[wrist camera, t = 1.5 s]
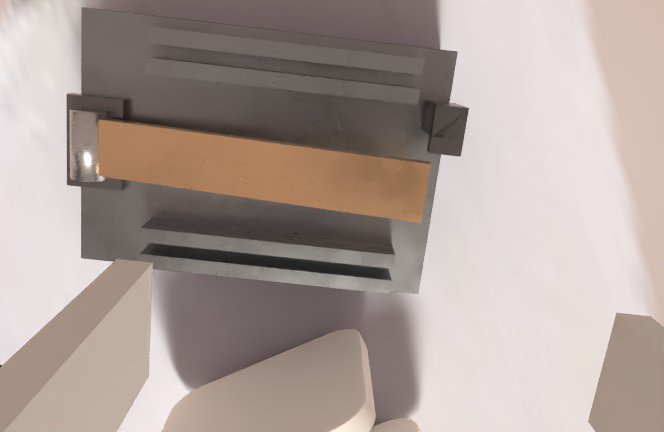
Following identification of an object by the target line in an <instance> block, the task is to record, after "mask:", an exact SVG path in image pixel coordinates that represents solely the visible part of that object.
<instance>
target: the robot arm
mask: <svg viewBox="0 0 664 432" xmlns="http://www.w3.org/2000/svg"><path fill="white" fill-rule="evenodd" d="M152 271H153V263H150V262H141V261H131V260H122V259H117V260H116V261H114V262H113V263H112V264H111V265H110V266H109V267H108V268H107V269H106V270H105V271H104V272H103V273H102V274H100V275H99V276H98V277H97V278H96V279H95V280H94V281H93V282H92V283H91V284H90V285H89V286H88V287H86V288H85V289H84V290H83V291H82V292H81V293H80V294H79V295H78V296H77V297H76V298H75V299H74V300H72V301H71V302H70V303H69V304H68V305H67V306H66V307H65V308H64V309H63V310H62V311H61V312H60V313H58V314H57V315H56V316H55V317H54V318H53V319H52V320H51V321H50V322H49V323H48V324H47V325H46V326H44V327H43V328H42V329H41V330H40V331H39V332H38V333H37V334H36V335H35V336H34V337H33V338H32V339H30V340H29V341H28V342H27V343H26V344H25V345H24V346H23V347H22V348H21V349H20V350H19V351H17V352H16V353H15V354H14V355H13V356H12V357H11V358H10V359H9V360H8V361H7V362H6V363H5V364H3V365H0V432H116V431H117V430H118V428H119V426H120V425H121V423H122V421H123V419H124V418H125V416H126V414H127V413H128V411H129V409H130V407H131V406H132V404H133V402H134V400H135V399H136V397H137V395H138V394H139V392H140V390H141V388H142V387H143V385H144V383H145V381H146V380H147V378H148V376H149V350H150V324H151V297H152ZM588 422H589V423H590V424H591V426H592V427H593V429H594V430H595V432H664V327H663V326H661V325H660V324H659V323H658V322H656V321H655V320H654V319H653V318H652V317H650V316H640V315H631V314H622V313H616V317H615V321H614V325H613V328H612V332H611V336H610V340H609V344H608V348H607V351H606V355H605V359H604V363H603V367H602V370H601V374H600V378H599V382H598V386H597V389H596V393H595V397H594V401H593V405H592V409H591V412H590V416H589V420H588Z"/></svg>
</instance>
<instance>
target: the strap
mask: <svg viewBox="0 0 664 432" xmlns="http://www.w3.org/2000/svg"><path fill="white" fill-rule="evenodd" d="M430 167H431V162H429V161H422V160H414V159H407V158H399V157H392V156H384V155H377V154H370V153H362V152H355V151H347V150H340V149H332V148H325V147H317V146H310V145H302V144H295V143H288V142H280V141H273V140H265V139H258V138H250V137H243V136H235V135H228V134H220V133H213V132H206V131H198V130H191V129H183V128H176V127H168V126H161V125H153V124H146V123H138V122H131V121H124V120H116V119H109V118H107V112H105V111H97V110H89V109H70V179H72V180H76V181H82V182H98V181H103V180H106V177H109V178H116V179H122V180H129V181H136V182H143V183H150V184H157V185H163V186H170V187H177V188H184V189H191V190H198V191H205V192H211V193H218V194H225V195H232V196H239V197H246V198H252V199H259V200H266V201H273V202H280V203H287V204H294V205H300V206H307V207H314V208H321V209H328V210H335V211H341V212H348V213H355V214H362V215H369V216H376V217H383V218H389V219H396V220H403V221H410V222H417V223H422V217H423V211H424V205H425V198H426V192H427V186H428V179H429V173H430Z"/></svg>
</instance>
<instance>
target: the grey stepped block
mask: <svg viewBox="0 0 664 432" xmlns="http://www.w3.org/2000/svg"><path fill="white" fill-rule="evenodd" d="M456 58H457V52H456V51H447V50H439V49H430V48H422V47H413V46H405V45H396V44H388V43H380V42H371V41H363V40H354V39H346V38H337V37H329V36H320V35H312V34H303V33H295V32H286V31H278V30H269V29H261V28H253V27H244V26H236V25H227V24H219V23H210V22H202V21H193V20H185V19H176V18H168V17H159V16H151V15H143V14H134V13H126V12H117V11H109V10H100V9H92V8H83V7H82V94H76V93H69V94H67V185H71V186H80V187H81V258H85V259H95V260H104V261H113V262H114V261H116V260H117V259H122V260H131V261H141V262H150V263H153V269H158V270H168V271H177V272H187V273H196V274H206V275H215V276H225V277H234V278H243V279H253V280H262V281H272V282H281V283H291V284H300V285H310V286H319V287H329V288H338V289H348V290H357V291H367V292H376V293H386V294H390V291H397V292H407V293H416V294H418V292H419V286H420V280H421V274H422V268H423V261H424V255H425V249H426V243H427V237H428V231H429V225H430V218H431V212H432V206H433V200H434V194H435V188H436V181H437V175H438V169H439V163H440V157H441V154H443V155H452V156H461V151H462V145H463V139H464V133H465V128H466V122H467V116H468V110H469V108H467V107H464V106H461V105H458V104H455V103H449V101H450V95H451V89H452V83H453V77H454V71H455V65H456ZM70 109H89V110H97V111H105V112H107V118H109V119H116V120H124V121H131V122H138V123H146V124H153V125H161V126H168V127H176V128H183V129H191V130H198V131H206V132H213V133H220V134H228V135H235V136H243V137H250V138H258V139H265V140H273V141H280V142H288V143H295V144H302V145H310V146H317V147H325V148H332V149H340V150H347V151H355V152H362V153H370V154H377V155H384V156H392V157H399V158H407V159H414V160H422V161H429V162H431V167H430V173H429V179H428V186H427V192H426V198H425V205H424V211H423V217H422V223H417V222H410V221H403V220H396V219H389V218H383V217H376V216H369V215H362V214H355V213H348V212H341V211H335V210H328V209H321V208H314V207H307V206H300V205H294V204H287V203H280V202H273V201H266V200H259V199H252V198H246V197H239V196H232V195H225V194H218V193H211V192H205V191H198V190H191V189H184V188H177V187H170V186H163V185H157V184H150V183H143V182H136V181H129V180H122V179H116V178H109V177H106V180H103V181H98V182H82V181H76V180H72V179H70Z"/></svg>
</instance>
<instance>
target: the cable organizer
mask: <svg viewBox="0 0 664 432" xmlns="http://www.w3.org/2000/svg"><path fill="white" fill-rule="evenodd" d="M375 418H376V414H375V406H374V398H373V390H372V382H371V374H370V366H369V357H368V350H367V347H366V345H365V343H364V341H363V339H362V337H361V334H360V332H359V331H358V330H356V329H342V330H338V331H334V332H331V333H329V334H326V335H324V336H321V337H319V338H317V339H314V340H312V341H309V342H307V343H304V344H302V345H300V346H297V347H295V348H292V349H290V350H288V351H285V352H283V353H280V354H278V355H275V356H273V357H271V358H268V359H266V360H263V361H261V362H259V363H256V364H254V365H251V366H249V367H246V368H244V369H242V370H239V371H237V372H234V373H232V374H230V375H227V376H225V377H222V378H220V379H217V380H215V381H213V382H210V383H208V384H205V385H203V386H201V387H199V388H197V389H195V390H193V391H192V392H190V393H189V394H187V395H186V396H185V397H183V398H182V399H181V400H180V401H179V402H177V404H176V405H175V406H174V407H173V408H172V410H171V412H170V414H169V416H168V419H167V421H166V423H165V425H164V427H163V430H162V432H421V431H420V429H419V427H418V425H417V423H416V422H415V421H413V420H410V419H394V420H389V421H386V422H383V423H381V424H378V425H376V426H373V425H374V422H375ZM372 426H373V427H372Z"/></svg>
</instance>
